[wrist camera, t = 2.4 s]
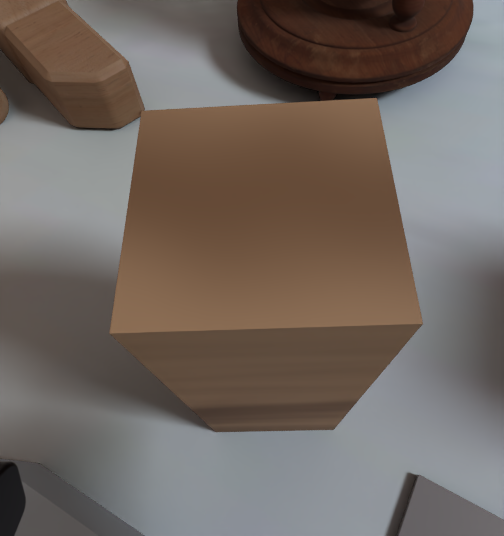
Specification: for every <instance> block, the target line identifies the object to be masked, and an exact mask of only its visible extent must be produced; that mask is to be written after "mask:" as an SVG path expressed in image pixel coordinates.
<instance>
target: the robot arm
mask: <svg viewBox="0 0 504 536" xmlns="http://www.w3.org/2000/svg"><path fill="white" fill-rule="evenodd" d="M25 506H26V496H25V492H24V488H23V485H22V481H21V477H20V473H19V470H18V467H17V465H16V464H15V463H14V462H11V461H4V462H0V536H15V533H16V531H17V528H18V526H19V523H20V521H21V518H22V516H23V513H24V510H25Z"/></svg>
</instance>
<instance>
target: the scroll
mask: <svg viewBox="0 0 504 536" xmlns="http://www.w3.org/2000/svg"><path fill="white" fill-rule="evenodd" d="M237 15H238V27H239V33H240V36H241V39H242V42H243V44H244V45H245V47H246V49H247V50H248V52H249V53H250V54H251V56H252V57H253V58H254V59H255V60H256V61H257V62H258V63H259V64H260V65H262V66H263V67H264V68H265V69H267V70H268V71H270V72H271V73H273V74H274V75H276V76H278V77H280V78H282V79H284V80H286V81H288V82H290V83H293V84H296V85H299V86H301V87H305V88H308V89H312V90H317V91H319V97H320V99H321V101H331V100H334V98H335V96H336V94H372V93H380V92H387V91H391V90H396V89H400V88H403V87H406V86H410V85H412V84H415V83H417V82H420V81H422V80H424V79H426V78H428V77H430V76H432V75H433V74H435V73H436V72H438V71H439V70H441V69H442V68H443V67H445V66H446V65H447V64H448V63H449V62H450V61H451V60H452V59H453V58H454V57H455V55H456V54H457V53H458V52H459V50H460V48H461V46H462V45H463V43H464V40H465V37H466V35H467V32H468V30H469V27H470V25H471V22H472V18H473V0H238V2H237Z"/></svg>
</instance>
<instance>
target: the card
mask: <svg viewBox="0 0 504 536" xmlns="http://www.w3.org/2000/svg"><path fill="white" fill-rule="evenodd" d="M397 536H504V520H503V519H501V518H499V517H498V516H496V515H494V514H492V513H490V512H488V511H486V510H484V509H483V508H481V507H479V506H477V505H475V504H473V503H471V502H469V501H468V500H466V499H464V498H462V497H460V496H458V495H456V494H454V493H453V492H451V491H449V490H447V489H445V488H443V487H441V486H439V485H438V484H436V483H434V482H432V481H430V480H428V479H426V478H424V477H423V476H421V475H417V476H416V479H415V482H414V485H413V488H412V491H411V494H410V497H409V500H408V503H407V506H406V509H405V512H404V515H403V518H402V521H401V524H400V527H399V530H398V533H397Z"/></svg>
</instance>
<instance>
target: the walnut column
mask: <svg viewBox="0 0 504 536" xmlns="http://www.w3.org/2000/svg"><path fill="white" fill-rule="evenodd" d="M422 324H423V322H422V317H421V312H420V307H419V302H418V297H417V293H416V288H415V283H414V278H413V273H412V268H411V263H410V258H409V253H408V248H407V243H406V239H405V234H404V229H403V224H402V219H401V214H400V209H399V204H398V199H397V194H396V189H395V185H394V180H393V175H392V170H391V165H390V160H389V155H388V150H387V145H386V140H385V135H384V130H383V126H382V121H381V116H380V111H379V106H378V101H377V98H367V99H349V100H331V101H312V102H294V103H276V104H258V105H240V106H222V107H204V108H186V109H167V110H149V111H142V112H141V119H140V126H139V133H138V140H137V147H136V154H135V160H134V167H133V174H132V181H131V188H130V195H129V202H128V209H127V216H126V222H125V229H124V236H123V243H122V250H121V257H120V264H119V271H118V278H117V284H116V291H115V298H114V305H113V312H112V319H111V326H110V333H109V334H110V335H112V336H113V337H114V338H115V339H116V340H117V341H118V342H119V343H120V344H121V345H122V346H123V347H124V348H126V349H127V350H128V351H129V352H130V353H131V354H132V355H133V356H134V357H135V358H136V359H137V360H139V361H140V362H141V363H142V364H143V365H144V366H145V367H146V368H147V369H148V370H149V371H150V372H151V373H153V374H154V375H155V376H156V377H157V378H158V379H159V380H160V381H161V382H162V383H163V384H164V385H165V386H167V387H168V388H169V389H170V390H171V391H172V392H173V393H174V394H175V395H176V396H177V397H178V398H180V399H181V400H182V401H183V402H184V403H185V404H186V405H187V406H188V407H189V408H190V409H191V410H192V411H194V412H195V413H196V414H197V415H198V416H199V417H200V418H201V419H202V420H203V421H204V422H205V423H206V424H208V425H209V426H210V427H211V428H212V429H213V430H214V431H215V432H245V431H295V430H334V429H335V427H336V426H337V425H338V424H339V423H340V421H341V420H342V419H343V418H344V417H345V415H346V414H347V413H348V412H349V411H350V410H351V408H352V407H353V406H354V405H355V404H356V402H357V401H358V400H359V399H360V398H361V396H362V395H363V394H364V393H365V392H366V391H367V389H368V388H369V387H370V386H371V385H372V383H373V382H374V381H375V380H376V379H377V378H378V376H379V375H380V374H381V373H382V372H383V370H384V369H385V368H386V367H387V366H388V364H389V363H390V362H391V361H392V360H393V359H394V357H395V356H396V355H397V354H398V353H399V351H400V350H401V349H402V348H403V347H404V346H405V344H406V343H407V342H408V341H409V340H410V338H411V337H412V336H413V335H414V334H415V332H416V331H417V330H418V329H419V328H420V327H421V325H422Z"/></svg>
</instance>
